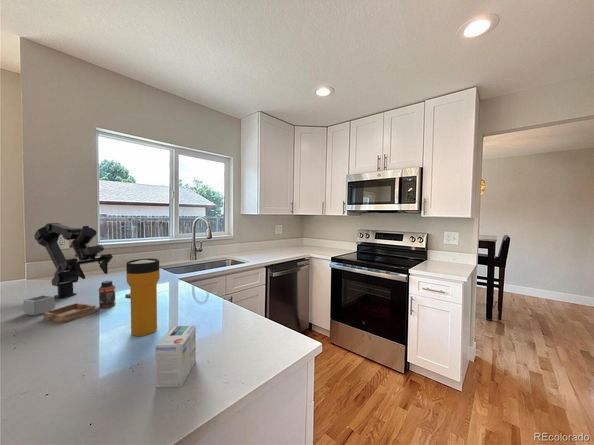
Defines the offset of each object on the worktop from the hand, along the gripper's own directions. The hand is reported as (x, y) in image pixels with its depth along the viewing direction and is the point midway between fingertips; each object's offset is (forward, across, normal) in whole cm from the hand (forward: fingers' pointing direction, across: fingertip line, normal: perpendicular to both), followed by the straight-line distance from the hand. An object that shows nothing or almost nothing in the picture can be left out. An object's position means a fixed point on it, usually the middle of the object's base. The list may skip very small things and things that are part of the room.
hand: (96, 276), depth 116 cm
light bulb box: (+60, -23, -50) cm, 81 cm away
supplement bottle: (+16, 0, +2) cm, 16 cm away
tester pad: (+15, +14, +3) cm, 20 cm away
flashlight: (+40, -10, -27) cm, 49 cm away
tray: (+13, -13, +4) cm, 19 cm away
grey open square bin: (+3, -16, +16) cm, 23 cm away
